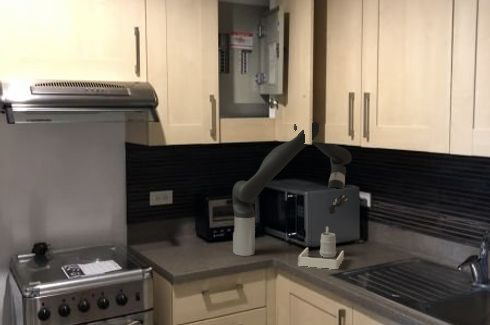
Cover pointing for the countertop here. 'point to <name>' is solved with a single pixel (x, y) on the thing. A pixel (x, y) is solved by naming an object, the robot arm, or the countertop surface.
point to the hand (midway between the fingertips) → (331, 212)
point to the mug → (328, 244)
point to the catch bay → (319, 261)
